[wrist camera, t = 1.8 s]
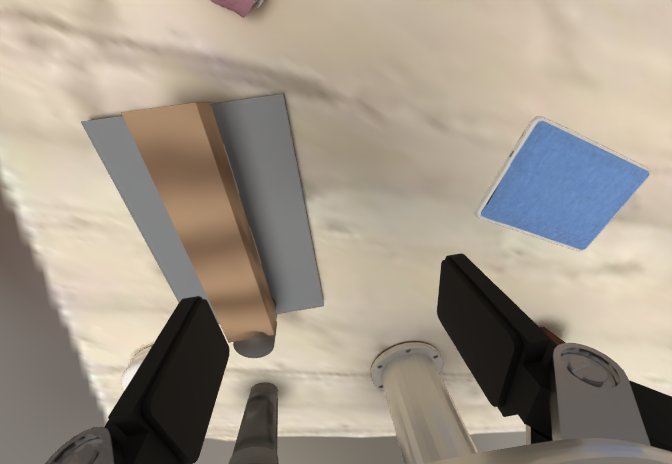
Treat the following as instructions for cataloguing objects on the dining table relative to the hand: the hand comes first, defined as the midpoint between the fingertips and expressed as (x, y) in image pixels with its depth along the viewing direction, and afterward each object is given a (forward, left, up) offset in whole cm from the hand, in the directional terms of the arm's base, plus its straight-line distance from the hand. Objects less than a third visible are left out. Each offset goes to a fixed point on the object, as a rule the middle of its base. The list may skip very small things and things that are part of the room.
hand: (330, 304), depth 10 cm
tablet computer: (-7, -30, -21) cm, 38 cm away
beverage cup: (-36, +15, -21) cm, 44 cm away
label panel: (-5, +11, -20) cm, 24 cm away
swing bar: (-5, +10, -16) cm, 19 cm away
